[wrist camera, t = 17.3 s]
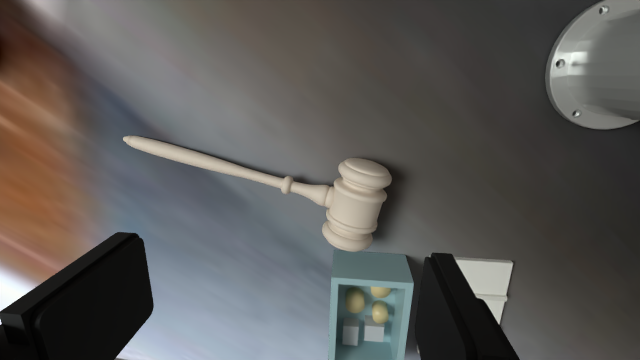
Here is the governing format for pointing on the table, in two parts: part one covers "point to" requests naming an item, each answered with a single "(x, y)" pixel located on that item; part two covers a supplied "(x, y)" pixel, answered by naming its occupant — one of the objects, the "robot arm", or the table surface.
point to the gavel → (307, 190)
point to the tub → (369, 306)
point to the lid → (487, 281)
